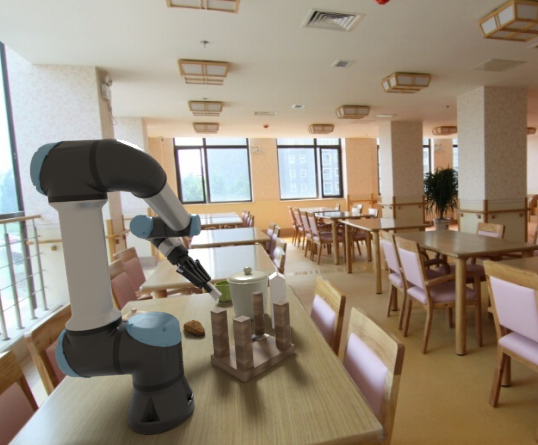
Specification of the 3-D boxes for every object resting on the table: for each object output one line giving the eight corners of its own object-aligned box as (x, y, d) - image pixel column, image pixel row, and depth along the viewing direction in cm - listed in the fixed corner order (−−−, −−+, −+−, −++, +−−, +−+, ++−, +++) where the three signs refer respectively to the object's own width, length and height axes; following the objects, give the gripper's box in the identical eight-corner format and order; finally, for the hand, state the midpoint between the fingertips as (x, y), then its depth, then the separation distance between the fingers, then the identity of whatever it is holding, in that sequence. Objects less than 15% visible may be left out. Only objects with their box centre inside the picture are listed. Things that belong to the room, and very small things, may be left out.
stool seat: (244, 382, 86) (240, 323, 84) (211, 362, 97) (206, 310, 96) (295, 352, 100) (292, 301, 99) (260, 338, 112) (257, 293, 110)
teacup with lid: (124, 347, 112) (120, 315, 111) (123, 337, 120) (120, 307, 119) (159, 338, 117) (156, 307, 116) (156, 329, 125) (153, 301, 124)
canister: (221, 316, 135) (217, 268, 133) (253, 304, 147) (250, 260, 145) (247, 327, 122) (243, 274, 120) (280, 314, 134) (277, 265, 132)
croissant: (177, 331, 123) (176, 318, 123) (192, 325, 128) (191, 313, 127) (195, 340, 114) (194, 327, 113) (211, 334, 118) (210, 321, 118)
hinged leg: (242, 346, 100) (239, 301, 99) (235, 342, 103) (232, 299, 102) (267, 334, 108) (264, 292, 107) (260, 331, 110) (257, 290, 109)
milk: (286, 321, 125) (283, 267, 124) (288, 327, 119) (285, 270, 118) (271, 322, 125) (268, 268, 123) (272, 329, 119) (269, 271, 117)
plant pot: (213, 303, 153) (211, 285, 152) (219, 296, 162) (218, 280, 162) (231, 303, 152) (230, 285, 151) (236, 296, 161) (235, 280, 160)
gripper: (178, 255, 122) (220, 298, 119) (157, 261, 110) (203, 310, 106) (189, 241, 120) (232, 285, 117) (169, 246, 108) (217, 296, 105)
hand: (218, 297), depth 112 cm, fingers closed
